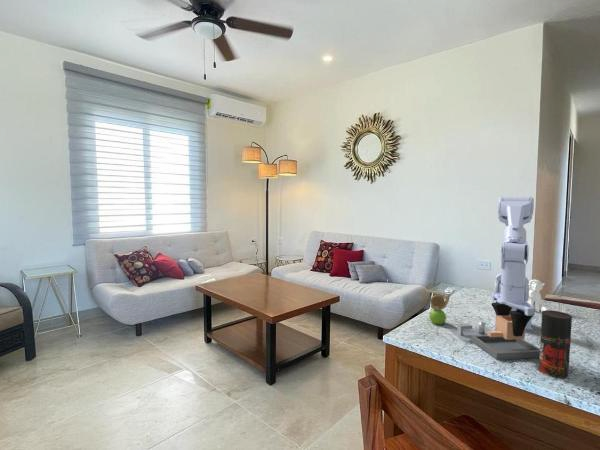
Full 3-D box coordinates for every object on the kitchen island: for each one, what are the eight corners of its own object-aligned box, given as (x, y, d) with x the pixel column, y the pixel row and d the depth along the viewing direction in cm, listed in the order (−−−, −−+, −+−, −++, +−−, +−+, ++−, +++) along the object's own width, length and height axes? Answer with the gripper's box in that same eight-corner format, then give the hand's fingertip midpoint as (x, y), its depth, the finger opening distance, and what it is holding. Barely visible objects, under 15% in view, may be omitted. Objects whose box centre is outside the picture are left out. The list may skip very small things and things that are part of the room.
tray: (513, 341, 103) (513, 333, 103) (543, 359, 91) (544, 351, 91) (470, 343, 102) (471, 335, 101) (496, 361, 90) (496, 353, 90)
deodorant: (533, 366, 88) (536, 310, 86) (554, 365, 88) (557, 309, 87) (551, 378, 82) (555, 319, 80) (574, 377, 82) (578, 318, 81)
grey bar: (482, 332, 108) (482, 321, 108) (486, 334, 106) (486, 323, 106) (457, 333, 108) (457, 322, 107) (460, 335, 106) (460, 324, 105)
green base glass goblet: (450, 328, 113) (451, 293, 112) (430, 326, 114) (431, 292, 113) (447, 322, 118) (448, 289, 117) (427, 321, 120) (428, 288, 119)
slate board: (487, 329, 112) (487, 327, 112) (506, 340, 103) (506, 338, 103) (447, 330, 111) (447, 329, 111) (462, 342, 102) (462, 340, 102)
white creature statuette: (519, 311, 130) (521, 280, 129) (517, 304, 137) (519, 276, 136) (549, 315, 125) (551, 283, 124) (546, 308, 133) (547, 278, 132)
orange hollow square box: (512, 331, 99) (512, 315, 98) (524, 339, 94) (525, 321, 93) (483, 332, 98) (484, 315, 98) (494, 340, 93) (495, 322, 93)
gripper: (483, 279, 102) (481, 322, 103) (518, 292, 87) (515, 343, 88) (505, 278, 102) (502, 321, 103) (543, 291, 88) (540, 341, 89)
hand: (510, 331), depth 96 cm, fingers closed on orange hollow square box, 5 cm apart
